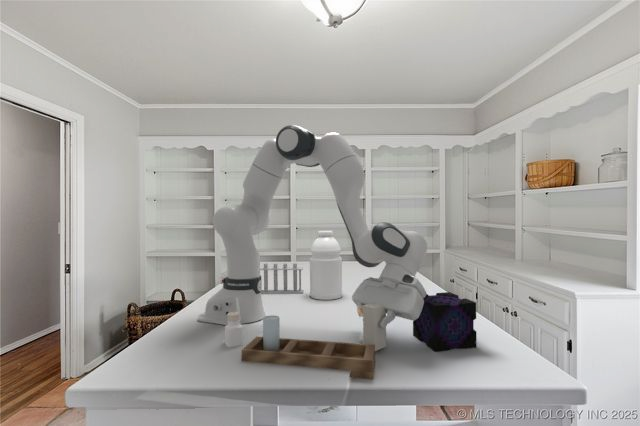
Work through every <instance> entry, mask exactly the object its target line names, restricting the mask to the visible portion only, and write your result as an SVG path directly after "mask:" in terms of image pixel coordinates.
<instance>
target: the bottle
mask: <svg viewBox="0 0 640 426" xmlns="http://www.w3.org/2000/svg"><path fill="white" fill-rule="evenodd" d="M333 231H334V230H318V231H317V236H318V237H317V238H316V239H315V240H314V241H313V242H312V244H311V246H310V250H309V251H310V252H311V253H312V255H311V256H310V257H309V295H310V297H311V299H315V300H319V301H321V300H323V301H330V300H337V299H340V298H341V297H343V275H342V274H343V270H342V269H343V267H342V266H343V258H342V257H341V255H340V253H341V251H342V248H341V245H340V243H339V241H338V240H337V239H336V238H335V237H334V232H333Z"/></svg>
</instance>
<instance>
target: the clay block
mask: <svg viewBox="0 0 640 426" xmlns="http://www.w3.org/2000/svg"><path fill="white" fill-rule="evenodd" d="M386 316H387V314H386V309H384V305H383V304H379V303H375V302H373V303H370V304H366V305H363V317H362V322H363V323H362V325H363V326H362V327H363V328H362V331H363V335H362V339H363V340H362V341H363V343H362V344H371V345H375V352H376V351H379V350H381V349H383V348H386V347H387V327H386V328H385V329H382V328H379V326H378V322H379V320H380V319H383V318H385V317H386Z"/></svg>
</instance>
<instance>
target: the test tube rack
mask: <svg viewBox="0 0 640 426" xmlns="http://www.w3.org/2000/svg"><path fill="white" fill-rule="evenodd" d="M292 266H293V267H288V263H283V265H282V267H278V263H273V267H268V263H265V262H264V263H263V267H260V271H263V289H262V291H261V295H268V294H269V295H270V294H271V295H272V294H273V295H277V294H278V295H281V294H283V295H286V294H288V295H289V294H295V295H297V294H304V292H305V290H304V289H302V271H303V270H304V267H298V263H297V262H295V263H293V264H292ZM269 271H273V289H269V275H268V274H269ZM278 271H283V275H282V276H283V289H278V288H279V287H278V285H279V284H278V283H279V282H278ZM288 271H292V272H293V273H292V274H293V275H292V277H293V278H292V279H293V280H292V281H293V282H292V283H293V286H292V288H293V289H288ZM298 276H299V277H298ZM298 279H299V280H298ZM298 283H299V285H298ZM298 286H299V287H298Z"/></svg>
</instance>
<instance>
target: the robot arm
mask: <svg viewBox="0 0 640 426" xmlns="http://www.w3.org/2000/svg"><path fill="white" fill-rule="evenodd" d="M294 164H296V166H302V167H306V168H314V167H318V166H320V167H321V168H322V171H323V172H324V174H325V176H326V178H327V180H328V182H329V184H330V187H331V189H332V192H333V194H334V198H335V201H336V205H337V207H338V211H339V213H340V215H341V217H342V220H343V224H344V226H345V228H346V230H347V232H348V235H349V238H350V240H351V247H352V248H351V249H352V253H353V254H352V255H353V257H354V259H355V260H356V262H358V263H359V264H360V265H361V266H363V267H366V268H375V267H377V266H379V265H380V264H381V263H383V262H385V265H384V268H383V269H382V270H381V271H382V272H381V274H379V277H378V278H377V277H376V278H375V277H372V276H370V277H368V278H365V279H363V280H362V282H360V284H359V285H358V286H357V288H356V289H355V291H354V292H353V293H352V295H351V299H352V302H353V303H354V304H355V305H356V307H357V306H360V307H363V305H366V304H370V303H373V302H375V303H379V304H383V305H384V309H386V317H385V318H383V319H380V320H379V322H378V326H379V328H382V329H385V328H386V329H387V326H388V325H389V324H390V323H391V322H393V321H394V320H395V319H396V317H399V318H402V319H405V320H410V321H412V322H413V321H414V320H416V319H418V318H419V316H420V313H421V311H422V308H423V305H424V300H423V298H425V296H426V294H427V290H426V289H425V287H424V285H423V284H422V282H421V281H420V280H419V279H418V278H417V277H416V275H417V273H418V272H419V270H420V269H421V268H422V265H423V262H424V261H425V258H426V254H427V252H428V251H427V250H428V243H427V240H426V239H425V237H424V236H423V235H422V234H420V233H419V232H417V231H414V230H403V229H400V228H398V227H397V226H395V225H394V224H392V223H389V222H382V221H381V222H379V223H376V224H375V225H374V226H373V227H371V229H369V228H368V225H367V223H366V221H365V218H364V216H363V213H362V211H361V207H360V198H361V193H362V190H363V188H364V184H365V180H366V175H365V171H364V170H365V169H364V167H363V165H362V163H361V161H360V159H359V157H358V156H357V154H356V153H355V151H354V149H353V147H351V145H350V143H349V142H348V141H347V140H346V139H345V138H344V137H343V135H341V134H340V133H339V132H328V133H326V134H324V135H322V136H320V137H319V136H318V135H317V134H315V133H314V132H312V131H310V130H308V129H306V128H304V127H302V126H299V125H294V124H292V125H291V124H290V125H289V124H288V125H286V126H284V127H282V128H281V129H280V130H279V131H278V133H277V135H276V137H274V138H268V139H267V140H266V141H265V142H264V144H262V146H261V147H260V149H259V150H258V153H257V154H256V156H255V158H254V159H253V161H252V163H251V166H250V168H249V170H248V172H247V174H246V175H245V178H244V180H243V183H242V188H243V189H244V190H243V192H244V193H243V198H242V201H241V203H240V204H232V203H231V204H229V205H225V206H223V207H220V208H219V209H218V210H217V211H216V212H215V213H214V215H213V219H212V223H213V224H212V226H213V228H214V230H215V231H216V233H217V234H218V235H219V237H220V238H221V240H222V242H223V244H224V250H225V252H226V265H227V270H226V271H227V275H226V276H225V278H223V279H221V280H220V285H221V284H223V285H222V288H221V289H219V291H217V292H216V293H215V294H213V295H212V296H211V297H210V298H208V299H207V301H206V304H205V310H204V312H202V313H201V314H200V315H199V316H198V319H197V321H198V322H203V323H211V324H218V325H223V326H226V325H228V321H227V314H228V313H230V312H239V317H240V320H239V324H241V325H243V324H249V323H254V322H257V321H261V320H263V318H264V317H266V314H265V313H266V312H265V310H264V305H263V299H262V294H261V291H262V290H263V281H262V275H261V270H260V268H261V255H260V254H261V253H260V252H259V250H258V249H257V247H256V244H255V242H254V237H253V236H256V235H259V234H260V233H262V232H264V231H265V230H266V229H267V228H268V227H269V225H270V224H269V223H270V215H269V214H270V209H271V204H272V201H273V199H274V197H275V194H276V192H277V190H278V188H279V186H280V183H281V182H282V180H283V177H284V175H285V174H286V172H287V169H288V167H289V166H291V165H294Z"/></svg>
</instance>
